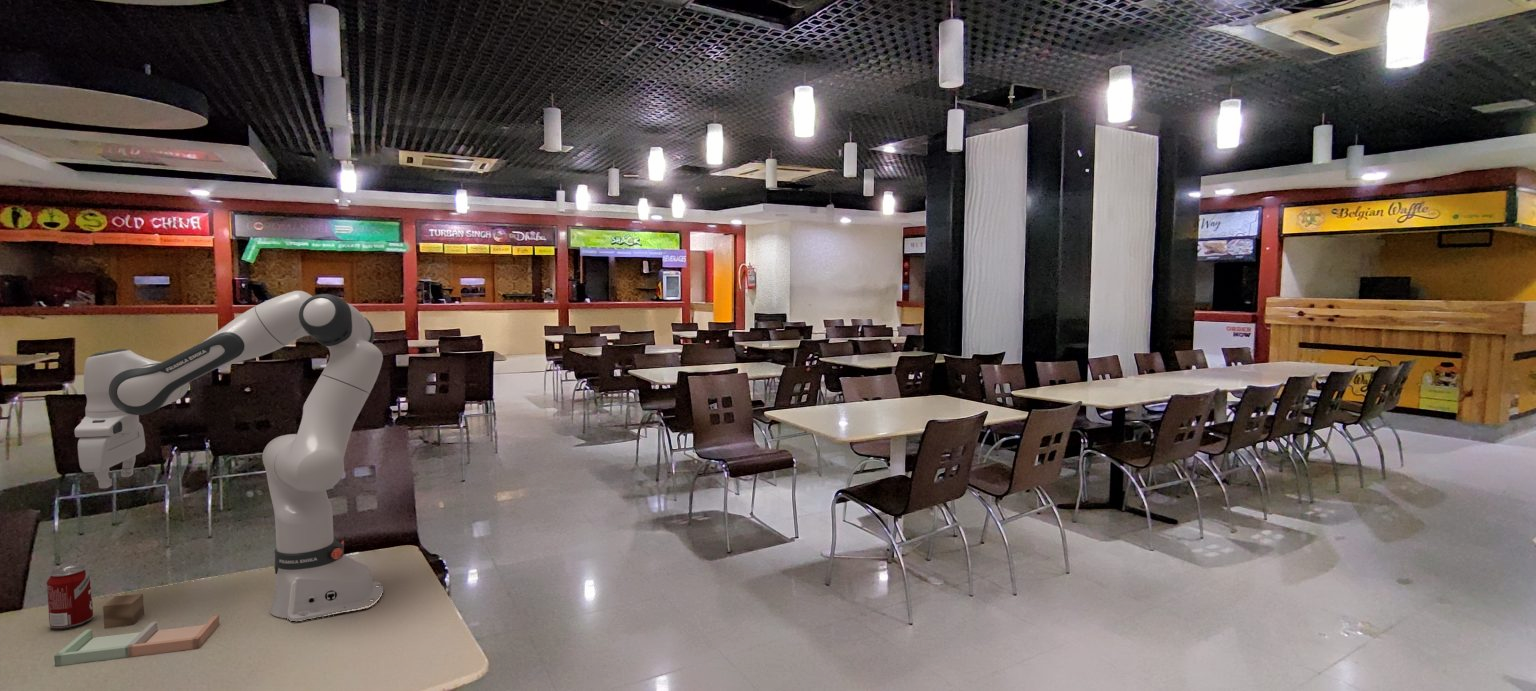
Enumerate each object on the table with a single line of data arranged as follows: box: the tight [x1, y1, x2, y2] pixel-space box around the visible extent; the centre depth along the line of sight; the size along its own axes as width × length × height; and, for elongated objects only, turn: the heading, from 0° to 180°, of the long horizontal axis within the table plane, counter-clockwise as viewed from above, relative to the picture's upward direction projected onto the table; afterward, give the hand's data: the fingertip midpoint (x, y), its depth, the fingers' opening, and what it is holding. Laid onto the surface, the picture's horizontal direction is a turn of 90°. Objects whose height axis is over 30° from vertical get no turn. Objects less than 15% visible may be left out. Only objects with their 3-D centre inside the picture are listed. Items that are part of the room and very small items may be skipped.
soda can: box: [46, 564, 94, 630], centre depth 155 cm, size 7×7×12 cm
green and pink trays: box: [53, 614, 220, 667], centre depth 148 cm, size 23×11×2 cm, turn 109°
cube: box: [102, 593, 145, 629], centre depth 157 cm, size 5×5×5 cm
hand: (116, 481), depth 164 cm, fingers open, 8 cm apart
